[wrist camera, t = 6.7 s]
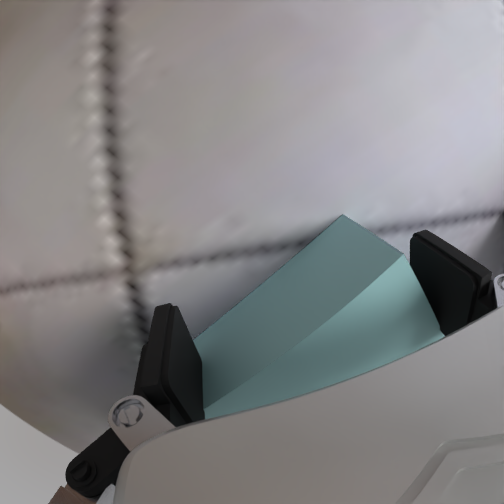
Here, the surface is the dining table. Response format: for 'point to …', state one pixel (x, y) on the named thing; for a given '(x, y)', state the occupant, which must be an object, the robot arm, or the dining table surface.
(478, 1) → the dining table surface
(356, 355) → the teal block
